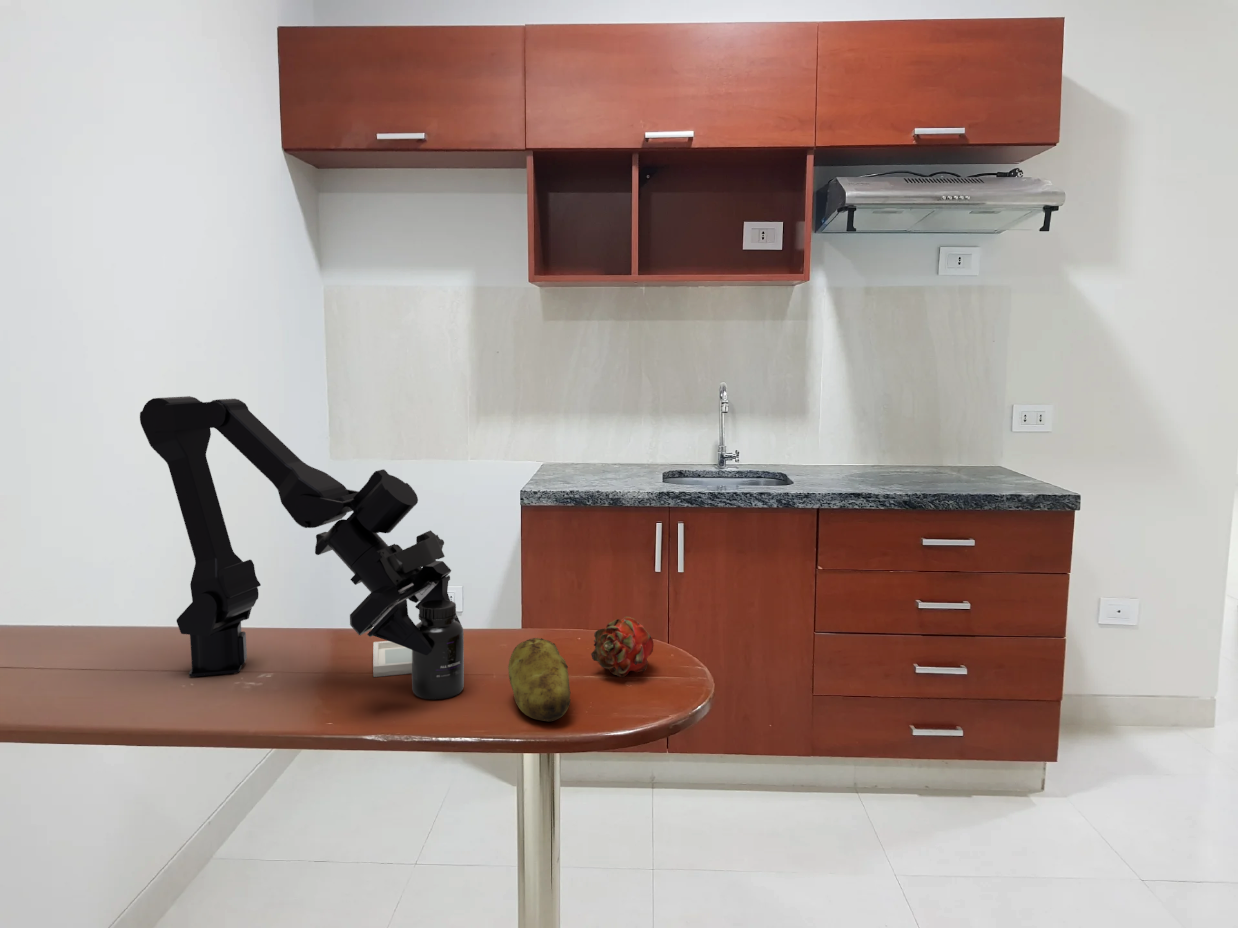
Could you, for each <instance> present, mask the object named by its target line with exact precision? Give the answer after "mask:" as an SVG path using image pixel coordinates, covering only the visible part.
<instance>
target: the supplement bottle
mask: <svg viewBox="0 0 1238 928" xmlns="http://www.w3.org/2000/svg"><path fill="white" fill-rule="evenodd" d="M456 614H457V604H456V602H454V601H452V600H450V601H448V600H432V601H426V602H423V603H421V604H420V605H419V609H418V620H419V621H420V622H418V623H417V624H415V625H416V627H417V628H418V629H419V631H420V632H421V633H422V635H423V636H424V637H425V639H426V640H427V641H428V643H429V644H430V646H431V648H432V651H431V652H430V653H429V654H428V655H424V654H421V653H419V652H416V651H414V650H412V674H411V689H412V692H413V694H414V695H415V696H416V697H418V698H421V699H424V700H445V699H450V698H453V697H456V696H458V695H459V694H460V693H461V692H462V691H463V689H464V685H465V673H464V671H465V668H464V667H465V666H464V665H465V663H464V662H465V659H464V658H465V656H464V655H465V654H464V653H465V647H464V646H465V645H464V643H465V641H464V639H465V637H464V635H465V634H464V633H465V632H464V627H463V626H461V625H462V623H461V622H460V623H461V624H460V623H458V622H457V621H455V620H454V619H455V618H456Z"/></svg>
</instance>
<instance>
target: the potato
mask: <svg viewBox="0 0 1238 928" xmlns="http://www.w3.org/2000/svg"><path fill="white" fill-rule="evenodd" d="M507 666H508V667H507V668H508V678H509V679H508V680H509V683H510V687H511V689H512V691H513V697H514V702H515V704H516V705H517V707H518V708H519V710H520V711H521V713H523V714H524V715H525V716H527V717H529V718H531V719H532V720H533V719H534V720H537V721H543V722H548V723H552V722H554V721H556V720H559V719H560V718H562V717H563V716H564V715H565V714H566V713H567V711H568V709H569V707H570V704H571V687H570V678H569V677H570V676H569V671H568V670H569V669H568V668H569V667H568V665H567V662H566V660H565V659H564V657H563V656H561V655H560V651H559V650H558V647H557V645H556V643H554V642H552V641H549V640H547V639H544V638H539V637H533V638H529V639H526V640H524V641H522V642H519V643H518V644H517V645H516V646H515V647H514V649H513V651H512V652H511V655H510V658H509V661H508V665H507Z"/></svg>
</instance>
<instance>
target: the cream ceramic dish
mask: <svg viewBox="0 0 1238 928" xmlns="http://www.w3.org/2000/svg"><path fill="white" fill-rule="evenodd" d="M372 646H373V648H372V649H373V651H372V652H373V656H372V657H373V658H372V659H373V661H372V663H373V664H372V666H373V667H372V670H373V672H372V673H373V678H378V677H387V676H389V677H391V676H398V675H412V650H411V649H409V648H406V647H404V646H401V645H399V644H396V643H393V642H390V641H387V640H384V641H383V640H382V641H381V640H380V641H373V645H372Z"/></svg>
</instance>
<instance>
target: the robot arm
mask: <svg viewBox="0 0 1238 928" xmlns="http://www.w3.org/2000/svg"><path fill="white" fill-rule="evenodd" d="M139 422H140V426H141V428H142V430H143V432H144V433H143V434H144V435H145V437H146V439H147V441H148V444H149V446H150V447H151V448H152V449H153V450H154V451H155V453H157V455H159V456H160V458H161V459H163V460H164V461H165V462H166V464H167V467H168V470H169V473H170V477H171V480H172V484H173V487H174V490H175V494H176V497H177V502H178V504H179V508H180V512H181V515H182V519H183V522H184V526H185V528H186V529H185V530H186V533H187V536H188V540H189V543H190V547H191V550H192V554H193V558H194V561H195V562H194V563H195V564H194V567H193V572H192V576H191V579H190V584H189V586H190V592H191V600H192V602H191V603H190V604H189V605H188V606H187V607H186V608H185V609H184V611H182V613H181V614H180V615H179V616H178V617H177V618H176V624H177V626H178V629H179V633H180V634H181V635H189V641H190V643H189V644H190V657H191V669H190V671H189V672H188V677H190V678H192V677H205V676H206V677H207V676H214V675H215V676H216V675H226V674H237V673H240V671H241V669H242V667H243V666H244V664H245V663H246V661H247V659H248V655H247V654H248V651H247V650H248V649H247V634H246V633H247V632H245V631H242V622H243V621H246V620H249V619H250V615H251V612H252V608H253V607H255V605H256V602H257V600H259V587H260V586H261V583H260V581H259V580H258V578H257V575H256V567H255V563H254V562H253V560H252V559H247V560H245V561H244V560H242V559H241V558H240V557H239V556H238V554H236V553H235V551H234V549H233V547H232V544H231V543H232V542H231V540H230V536H229V533H228V529H227V525H226V522H225V518H224V515H223V512H222V508H221V505H220V501H219V497H218V494H217V490H216V487H215V483H214V480H213V477H212V473H211V469H210V465H209V462H208V459H207V451H208V448H209V447H208V446H209V443H210V439H211V436H212V433H211V429H215V430H216V431H218V432H219V433H220V434H221V435H222V436H223V437H224V438H225V439H226V440H228V442H229V443H231V445H232V446H233V447H234V448H235V449H236V450H238V452H240V453H241V455H243V456H244V457H245V458H246V459H247V460H248V461H249V462H250V463H251V464H252V465H253V466H254V467H255V468H256V469H257V470H258V471H259V472H260V473H262V475H263V476H265V478H267V480H269V481H270V482H271V483H272V485H273V486H274V487H275V488H276V490H277V492H278V496H279V500H280V502H281V505H282V506H283V508H284V509H285V510H286V511H287V513H288V514H289V515H290V517H291V518H292V520H294V522H295V523H296V524H297V525H299V526H300V527H302V528H303V529H314V528H315V529H316V528H318V527H320V526H325V525H327V524H332V523H334V522H335V523H334V524H333V525H332V526H331V528H330V529H329V530H328V531H323V532H320V533H318V534H316V536H315V538H316V543H315V548H314V553H315V555H316V556H319V555H323V554H325V553H327V552H330V551H333V552H334V553H335V554H336V556H338V558H339V559H340V560H341V561H342V562H343V564H345V565H346V567H347V568H348V569H349V570H350V571H351V572H352V573H353V576H352V577H351V578H350V581H351V582H352V583H353V584H354V585H358V584H361V583H362V584H363V585H364V587H366V589H367V590H368V591H369V592H370V593H369V594H368V596H367V597H365V598H364V600H362V602H360V604H358V605H357V607H356V608H355V609H354V610H353V611H352V612H351V613H349V625H350V626H351V628H352V629H353V630H354V631H355V632H356V634H358V636H362V635H364V634H365V633H367V634H366V635H367V636H368V637H369V638H371V637H376V638H378V639H382V640H384V641H390V642H393V643H396V644H399V645H401V646H404V647H406V648H409V649H411V650H414V651H416V652H419V653H421V654H424V655H428V654H429V653H430V652H431V651H432V648H431V646H430V644H429V643H428V641H427V640H426V639H425V637H424V636H423V635H422V633H421V632H420V631H419V629H418V628H417V627H416V625H417V624H415V623H414V622H413V620H412V618H411V617H410V616H409V610H408V600H409V602H412V603H416V605H415V609H416V610H419V605H420V604H421V603H423V602H426V601H432V600H448V601H451V599H450V596H449V592H448V588H449V581H450V580H451V576H450V575H449V574H450V573H451V572H452V569H451V568H450V567H449V566H448V565H447V564H446V563H445V562H444V560H441V559H443V558H445V557H446V556H445V554H444V551H443V548H444V545H445V541H444V540H443V539H442V538H440V537H439V534H436V533H434V532H433V531H432V530H430V529H429V530H428V531H426V532H423V533H422V534H420V535H417V536H416V538H415V539H416V542H415V544H413V545H411V546H408V547H406V548H404V549H403V548H402V547H401V546H400V545H399V544H395V543H393V544H391V545H388V543H386V542H385V540H383V538H382V537H381V536H380V535H379V533H382V534H389V533H391V532H392V531H393V530H394V529H395V528H396V526H397V525H399V524H400V522H401V521H403V519H404V518H405V517H406V516H407V515H408V514H409V513H410V511H412V510H413V508H414V507H415V506H416V505H417V504H418V501H419V499H418V494H417V493H416V491H415V489H413V487H412V486H411V485H410V484H409V483H407V482H405V481H403V480H402V479H400V478H399V477H398V476H394V475H391V474H389V473H388V472H387V470H386V469H379V470H375V471H374V472H373V473H372V474H371V475H370V477H369V479H368V481H367V482H366V483H365V484H364V486H363V487H362V488H361V489H360V490H359V491H358V490H353V489H348V488H347V487H346V486H345V485H344V484H343V483H342V482H340V481H339V480H338V479H335V478H334V477H333V476H332V475H329V474H328V473H327V472H325V471H323V470H320V469H317V468H315V467H313V466H310V465H309V464H307V463H305V462H304V461H302V459H301V458H300V457H299V456H297V455H296V454H295V453H294V452H293V451H292V450H291V449H290V447H288V446H287V445H286V444H285V443H284V442H283V441H282V440H281V439H280V438H278V436H276V435H275V434H274V433H273V432H272V431H271V430H270V429H269V428H268V427H267V426H266V425H265V424H264V423H262V421H261V420H259V419H258V417H256V415H254V414H253V413H252V412H251V411H250V410H249V407H248V406H247V404H246V403H245V402H243V400H240V399H237V398H224V399H223V398H222V399H221V398H220V399H214V400H213V399H212V400H211V401H206V402H203V401H201V400H199V399H198V398H197V397H193V396H190V395H189V396H188V395H187V396H175V397H174V396H170V397H169V396H168V397H157V398H156V397H155V398H152V399H150V400H148V401H146V403H145V404H144V406H143V408H142V410H141V411H140V412H139ZM351 512H352V513H351ZM347 513H351V514H350V515H349V516H348V518H346V519H343V518H344V517H345V516H346V515H347ZM454 620H455V621H457V622H458V623H460V624H461V626H462V623H461V621H460V619H459V617H458V615H457V613H456V618H455V619H454ZM462 627H463V626H462Z"/></svg>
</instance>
